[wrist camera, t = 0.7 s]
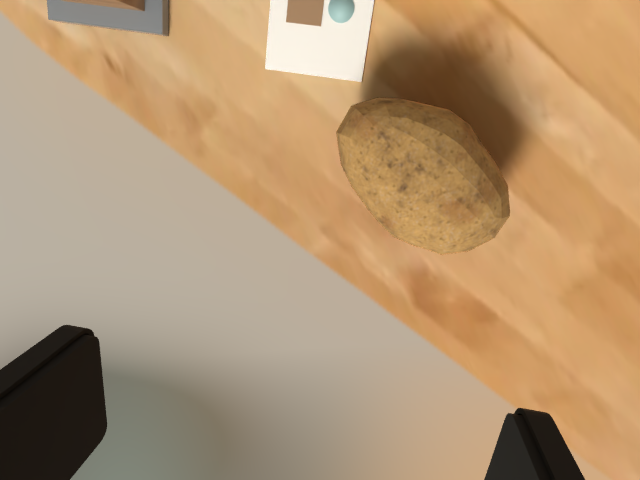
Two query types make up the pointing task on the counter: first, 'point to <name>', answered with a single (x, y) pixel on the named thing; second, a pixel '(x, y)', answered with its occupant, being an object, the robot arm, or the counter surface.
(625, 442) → the counter surface
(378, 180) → the potato
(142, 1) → the brown square block
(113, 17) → the baseplate
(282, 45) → the page
